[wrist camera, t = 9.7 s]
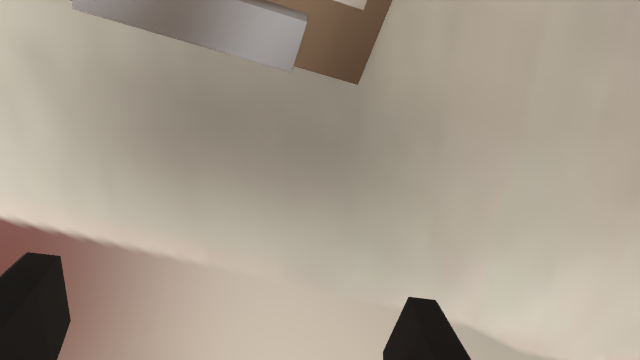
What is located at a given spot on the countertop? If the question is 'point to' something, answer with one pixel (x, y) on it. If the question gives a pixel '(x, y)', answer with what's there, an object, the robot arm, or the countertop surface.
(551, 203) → the countertop surface
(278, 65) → the picture frame
